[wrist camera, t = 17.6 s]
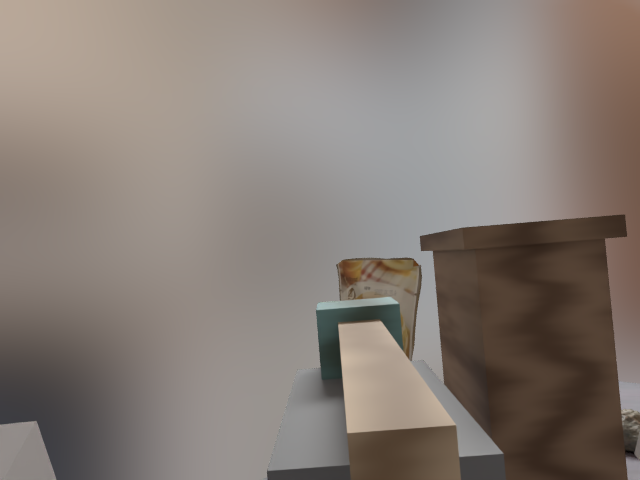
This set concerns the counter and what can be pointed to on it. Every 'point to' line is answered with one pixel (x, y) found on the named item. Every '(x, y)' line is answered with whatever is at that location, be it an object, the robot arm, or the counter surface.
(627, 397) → the counter surface
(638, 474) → the counter surface
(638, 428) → the long grey stone
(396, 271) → the pancake mix bag
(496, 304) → the walnut pedestal
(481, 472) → the tall grey box
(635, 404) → the counter surface
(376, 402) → the oak beam
